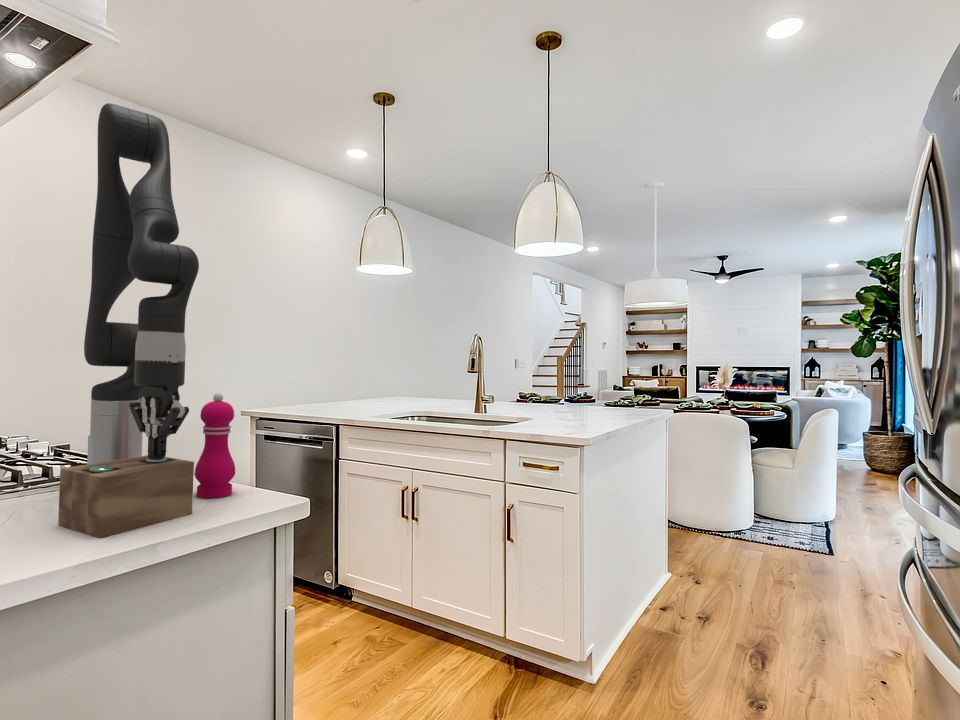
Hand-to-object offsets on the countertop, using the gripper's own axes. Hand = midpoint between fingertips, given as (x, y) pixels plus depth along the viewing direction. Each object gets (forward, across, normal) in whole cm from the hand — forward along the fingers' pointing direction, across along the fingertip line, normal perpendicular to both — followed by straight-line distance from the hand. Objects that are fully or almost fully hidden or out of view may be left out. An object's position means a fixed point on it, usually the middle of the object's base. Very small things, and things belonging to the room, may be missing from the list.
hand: (156, 458), depth 94 cm
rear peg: (+8, 0, 0) cm, 8 cm away
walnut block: (+9, 0, -4) cm, 10 cm away
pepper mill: (+10, -2, +14) cm, 17 cm away
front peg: (+8, 0, -9) cm, 12 cm away
